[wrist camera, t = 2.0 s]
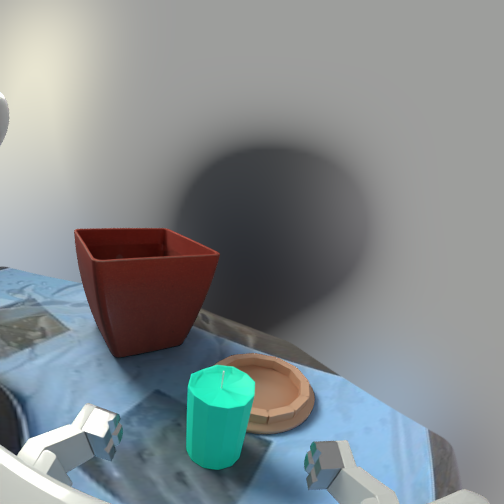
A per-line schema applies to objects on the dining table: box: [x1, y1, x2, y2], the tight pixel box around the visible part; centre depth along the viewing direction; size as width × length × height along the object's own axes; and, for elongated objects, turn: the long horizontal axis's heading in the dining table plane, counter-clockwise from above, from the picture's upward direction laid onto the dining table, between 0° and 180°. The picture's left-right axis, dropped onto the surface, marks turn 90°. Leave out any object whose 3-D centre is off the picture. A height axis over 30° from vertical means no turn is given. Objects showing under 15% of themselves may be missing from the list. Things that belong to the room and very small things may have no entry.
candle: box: [186, 365, 255, 470], centre depth 24 cm, size 6×6×12 cm
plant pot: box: [74, 228, 220, 357], centre depth 44 cm, size 19×19×17 cm
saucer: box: [213, 353, 315, 434], centre depth 36 cm, size 16×16×2 cm
